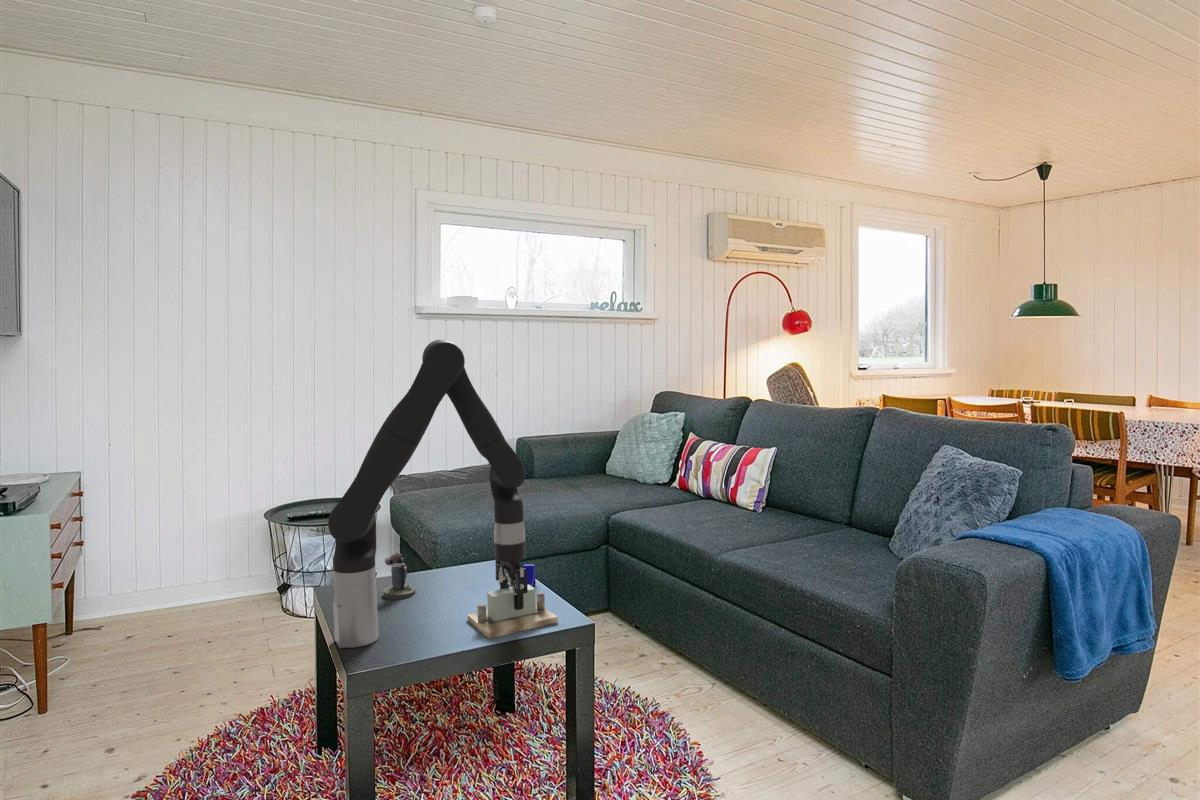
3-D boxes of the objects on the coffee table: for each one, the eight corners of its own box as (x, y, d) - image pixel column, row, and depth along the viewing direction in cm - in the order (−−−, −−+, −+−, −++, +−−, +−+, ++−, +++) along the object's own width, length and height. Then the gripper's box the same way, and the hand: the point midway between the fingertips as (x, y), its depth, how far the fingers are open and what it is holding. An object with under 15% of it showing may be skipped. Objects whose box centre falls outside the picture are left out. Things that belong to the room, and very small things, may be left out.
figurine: (396, 601, 194) (394, 557, 194) (377, 595, 199) (375, 553, 199) (421, 592, 201) (420, 550, 200) (402, 587, 206) (400, 546, 205)
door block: (529, 607, 181) (528, 584, 181) (535, 612, 178) (535, 588, 178) (487, 616, 176) (487, 592, 176) (493, 621, 173) (492, 596, 172)
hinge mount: (488, 638, 167) (487, 615, 166) (467, 620, 179) (466, 598, 178) (557, 622, 176) (557, 600, 175) (533, 606, 188) (533, 585, 187)
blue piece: (520, 584, 207) (519, 563, 206) (535, 585, 206) (534, 564, 206) (507, 598, 195) (507, 576, 195) (523, 599, 194) (523, 577, 194)
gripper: (536, 543, 172) (538, 609, 173) (512, 531, 184) (514, 593, 185) (506, 548, 168) (509, 616, 169) (484, 535, 180) (486, 599, 181)
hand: (511, 604), depth 177 cm, fingers open, 8 cm apart
